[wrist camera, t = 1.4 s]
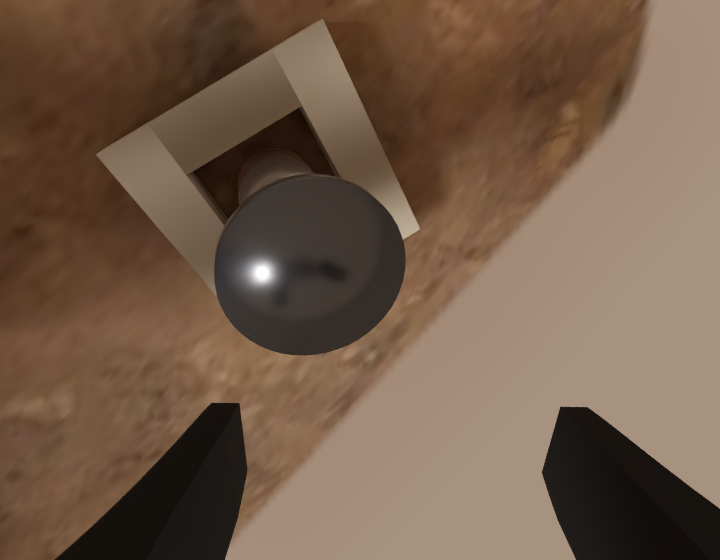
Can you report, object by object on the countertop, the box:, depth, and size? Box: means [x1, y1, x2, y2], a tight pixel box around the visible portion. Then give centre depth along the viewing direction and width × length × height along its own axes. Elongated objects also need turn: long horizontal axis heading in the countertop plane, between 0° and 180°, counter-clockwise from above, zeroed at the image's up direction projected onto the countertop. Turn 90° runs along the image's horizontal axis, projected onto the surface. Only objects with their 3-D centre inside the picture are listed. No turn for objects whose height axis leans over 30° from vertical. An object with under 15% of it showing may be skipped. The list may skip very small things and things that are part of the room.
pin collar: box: [96, 19, 420, 296], centre depth 16 cm, size 8×8×2 cm
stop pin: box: [214, 148, 405, 355], centre depth 13 cm, size 4×4×8 cm
